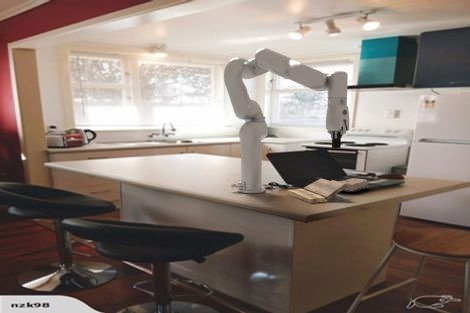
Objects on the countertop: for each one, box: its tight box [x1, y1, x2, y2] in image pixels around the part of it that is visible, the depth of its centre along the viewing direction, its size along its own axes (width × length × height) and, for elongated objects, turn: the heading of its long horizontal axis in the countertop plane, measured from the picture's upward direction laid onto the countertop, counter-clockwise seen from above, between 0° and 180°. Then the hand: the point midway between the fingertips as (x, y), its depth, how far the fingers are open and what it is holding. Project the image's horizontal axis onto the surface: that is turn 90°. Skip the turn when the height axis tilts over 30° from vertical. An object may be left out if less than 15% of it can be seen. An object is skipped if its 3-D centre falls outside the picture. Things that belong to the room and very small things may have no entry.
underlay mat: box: [309, 193, 351, 204], centre depth 149 cm, size 20×18×1 cm
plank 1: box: [302, 178, 331, 194], centre depth 154 cm, size 10×9×2 cm
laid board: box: [286, 188, 328, 204], centre depth 147 cm, size 8×18×2 cm, turn 20°
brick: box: [338, 177, 368, 191], centre depth 162 cm, size 17×8×5 cm, turn 136°
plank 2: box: [314, 179, 347, 200], centre depth 145 cm, size 10×9×2 cm
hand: (336, 147), depth 144 cm, fingers closed
